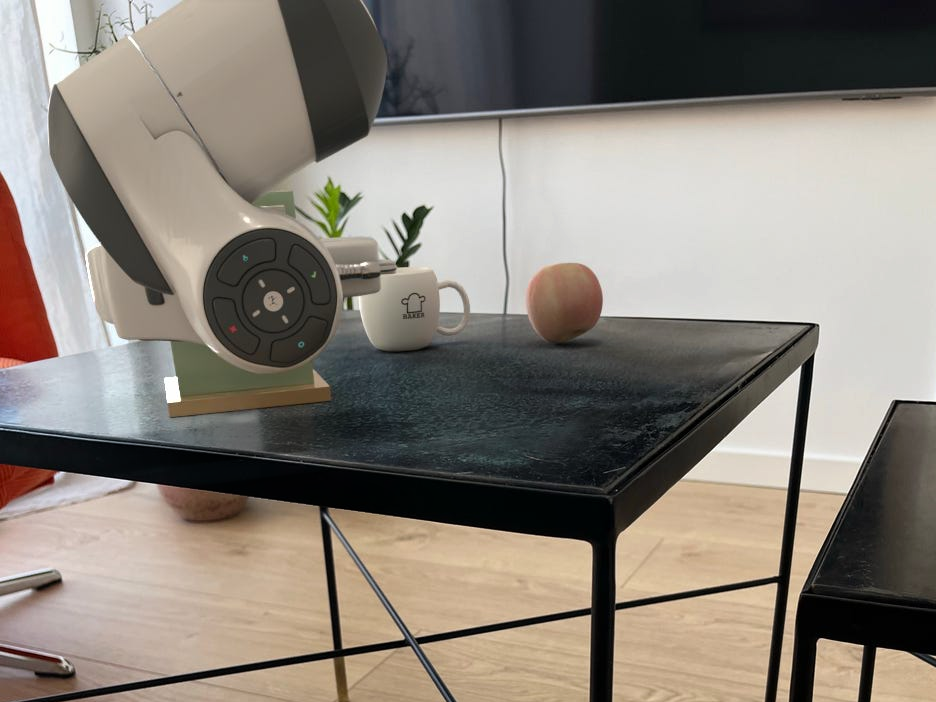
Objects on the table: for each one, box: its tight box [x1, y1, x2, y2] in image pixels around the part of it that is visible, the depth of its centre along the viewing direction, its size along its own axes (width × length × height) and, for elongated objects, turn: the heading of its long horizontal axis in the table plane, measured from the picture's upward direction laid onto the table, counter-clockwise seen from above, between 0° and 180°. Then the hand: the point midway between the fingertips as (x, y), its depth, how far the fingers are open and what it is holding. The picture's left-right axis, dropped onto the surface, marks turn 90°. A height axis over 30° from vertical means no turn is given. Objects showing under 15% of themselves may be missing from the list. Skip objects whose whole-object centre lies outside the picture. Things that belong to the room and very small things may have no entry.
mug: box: [358, 266, 471, 352], centre depth 107 cm, size 12×8×8 cm
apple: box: [525, 262, 604, 345], centre depth 105 cm, size 8×8×8 cm
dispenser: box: [164, 189, 332, 418], centre depth 84 cm, size 13×13×16 cm
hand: (231, 266), depth 78 cm, fingers closed, pressing on push plate
